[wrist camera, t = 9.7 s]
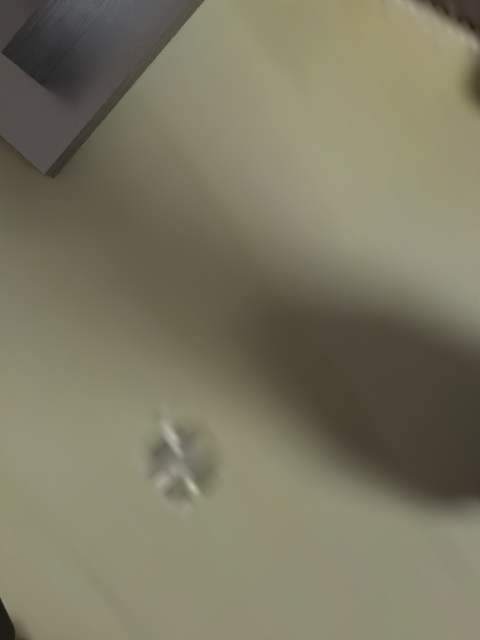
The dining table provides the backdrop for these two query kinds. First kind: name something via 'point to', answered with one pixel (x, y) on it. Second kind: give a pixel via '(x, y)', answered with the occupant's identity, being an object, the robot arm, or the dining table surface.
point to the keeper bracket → (74, 67)
